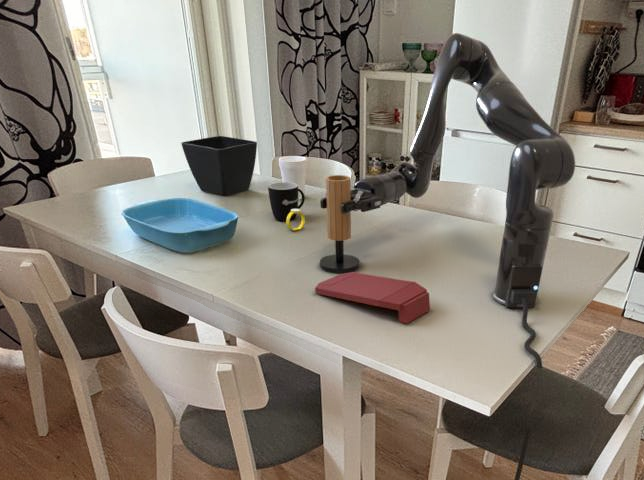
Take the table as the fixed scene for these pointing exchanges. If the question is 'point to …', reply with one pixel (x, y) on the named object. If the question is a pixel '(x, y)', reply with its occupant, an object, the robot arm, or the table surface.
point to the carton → (379, 293)
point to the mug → (284, 199)
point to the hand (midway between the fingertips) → (331, 206)
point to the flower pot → (221, 163)
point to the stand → (339, 261)
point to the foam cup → (294, 171)
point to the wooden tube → (338, 207)
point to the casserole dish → (182, 223)
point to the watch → (290, 217)
